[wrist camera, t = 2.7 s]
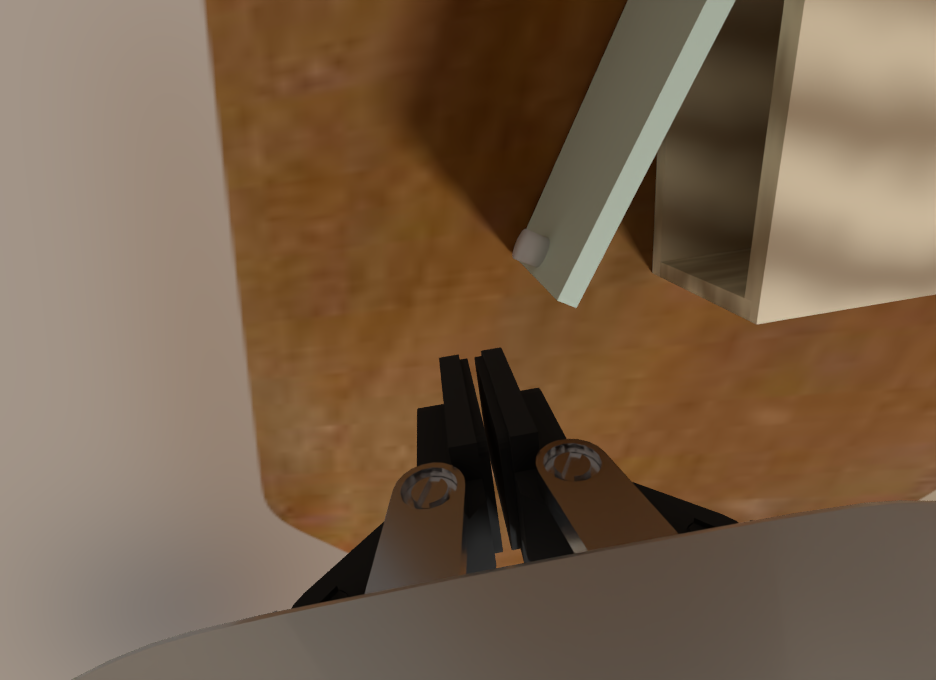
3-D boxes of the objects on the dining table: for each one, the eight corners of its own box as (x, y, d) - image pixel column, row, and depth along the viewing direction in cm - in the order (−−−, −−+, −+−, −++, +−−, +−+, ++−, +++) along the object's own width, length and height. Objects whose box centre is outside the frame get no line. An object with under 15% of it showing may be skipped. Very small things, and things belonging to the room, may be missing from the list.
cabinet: (664, -29, 28) (827, -153, 17) (841, -52, 28) (1113, -187, 17) (652, 272, 36) (756, 324, 25) (790, 250, 36) (952, 291, 25)
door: (624, -54, 27) (757, -190, 16) (661, -31, 27) (811, -147, 17) (495, 248, 33) (530, 290, 23) (527, 261, 34) (576, 307, 23)
